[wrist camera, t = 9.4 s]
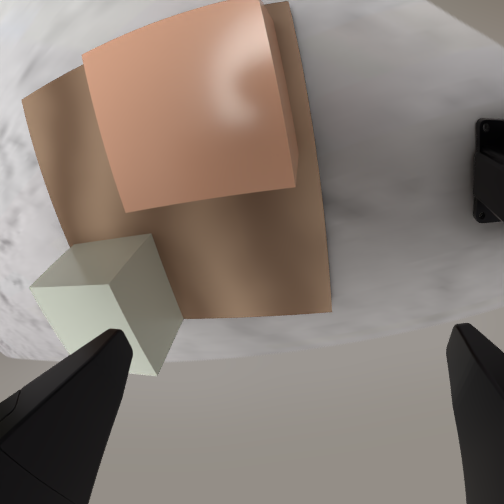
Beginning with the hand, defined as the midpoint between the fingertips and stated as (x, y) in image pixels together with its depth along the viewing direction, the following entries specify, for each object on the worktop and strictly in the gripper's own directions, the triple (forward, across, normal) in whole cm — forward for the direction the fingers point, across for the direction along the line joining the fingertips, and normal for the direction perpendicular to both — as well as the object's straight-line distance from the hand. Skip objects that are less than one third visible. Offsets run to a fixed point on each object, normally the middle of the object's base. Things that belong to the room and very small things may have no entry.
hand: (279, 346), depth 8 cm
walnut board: (+12, +8, -1) cm, 14 cm away
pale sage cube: (+11, +13, +5) cm, 17 cm away
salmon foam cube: (+11, +3, -6) cm, 13 cm away
